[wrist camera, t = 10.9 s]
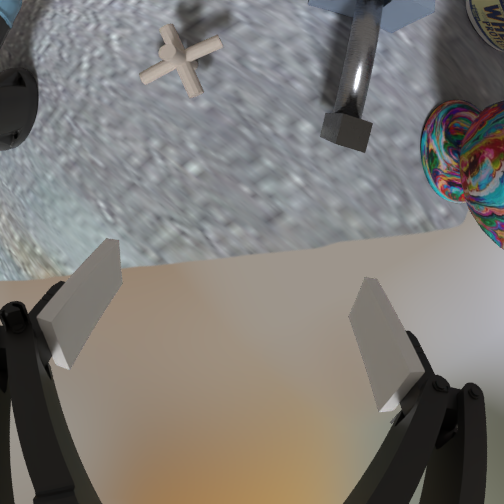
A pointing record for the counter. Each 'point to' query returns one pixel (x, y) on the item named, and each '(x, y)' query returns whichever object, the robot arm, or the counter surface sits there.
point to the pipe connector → (180, 59)
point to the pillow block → (384, 10)
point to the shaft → (355, 80)
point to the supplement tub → (488, 20)
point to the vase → (468, 160)
